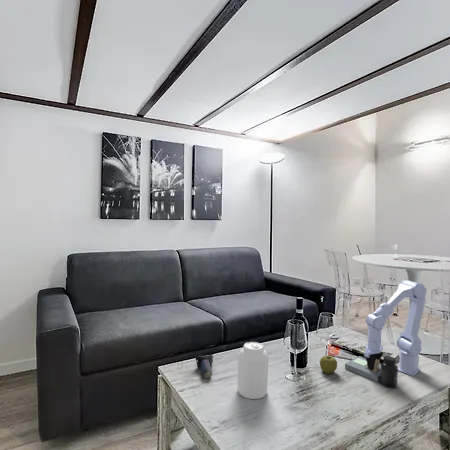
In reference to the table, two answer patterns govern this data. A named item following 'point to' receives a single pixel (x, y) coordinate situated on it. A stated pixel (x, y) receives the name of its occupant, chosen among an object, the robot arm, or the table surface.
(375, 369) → the beech block
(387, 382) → the supplement bottle
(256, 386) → the can
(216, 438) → the table surface
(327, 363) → the apple
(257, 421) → the table surface
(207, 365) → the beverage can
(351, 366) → the pocket board
